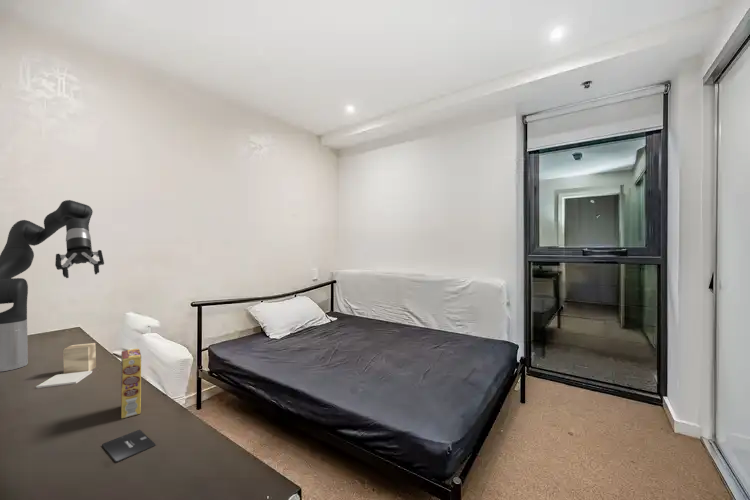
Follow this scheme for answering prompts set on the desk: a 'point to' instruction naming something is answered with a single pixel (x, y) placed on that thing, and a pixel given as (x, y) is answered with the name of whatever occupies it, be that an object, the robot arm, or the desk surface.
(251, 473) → the desk surface
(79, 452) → the desk surface
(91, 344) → the maple block
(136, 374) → the candy box
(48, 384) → the mat
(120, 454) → the solid state drive
